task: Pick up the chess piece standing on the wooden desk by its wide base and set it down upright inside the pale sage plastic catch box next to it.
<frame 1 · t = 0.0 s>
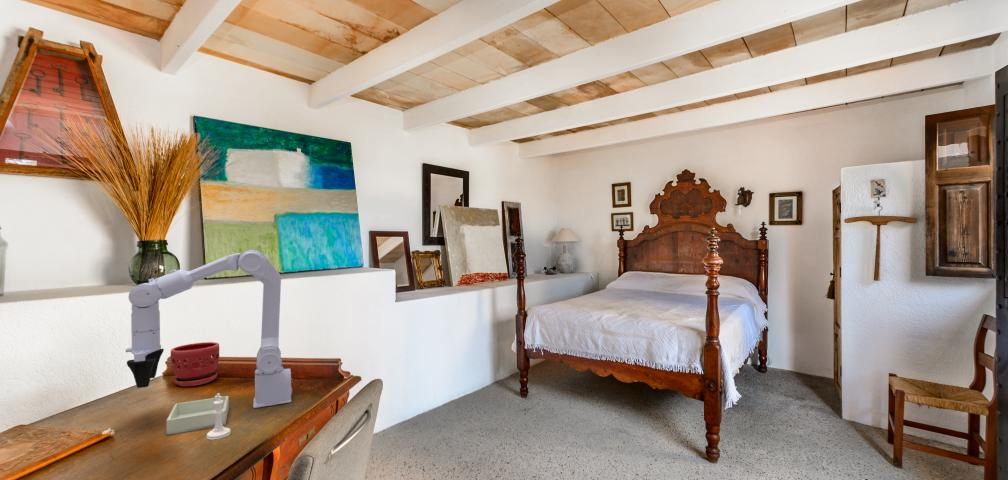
hand: (146, 382, 114), 10 cm above the table, tool pointing down, fingers open, 7 cm apart
plant pot: (195, 382, 145), on the table
catch box: (199, 421, 115), on the table
chess piece: (218, 435, 107), on the table
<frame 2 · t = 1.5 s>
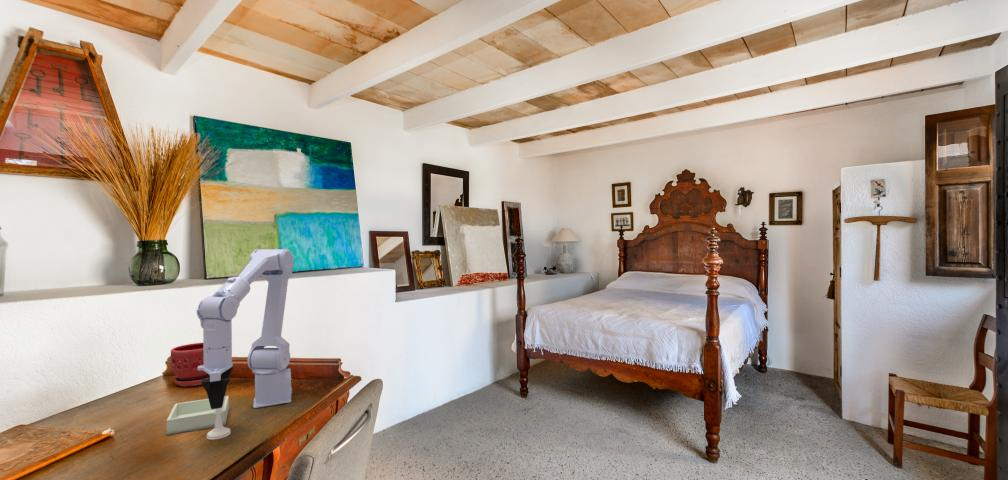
hand: (218, 402, 107), 8 cm above the table, tool pointing down, fingers open, 7 cm apart
nothing on the table moved.
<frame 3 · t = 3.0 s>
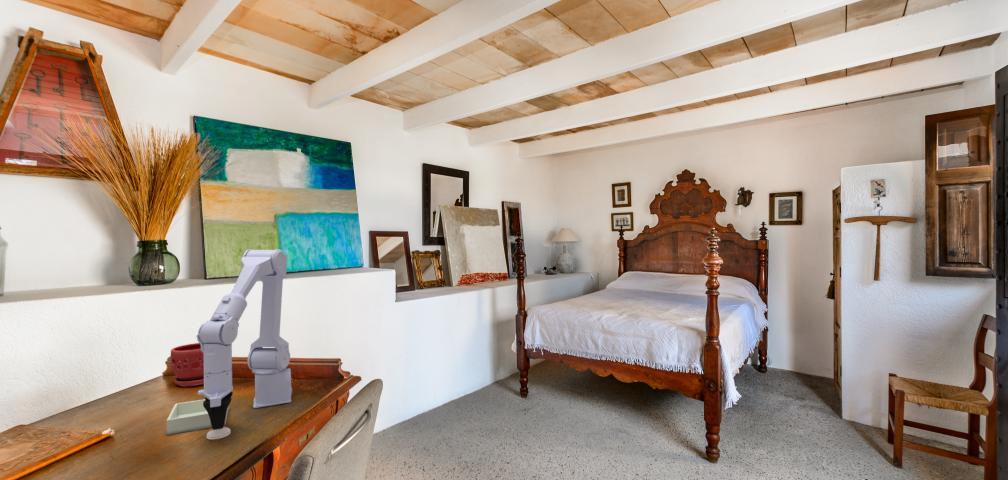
hand: (218, 426, 107), 2 cm above the table, tool pointing down, fingers closed on chess piece
chess piece: (218, 435, 107), on the table, touching gripper
everything else where it was.
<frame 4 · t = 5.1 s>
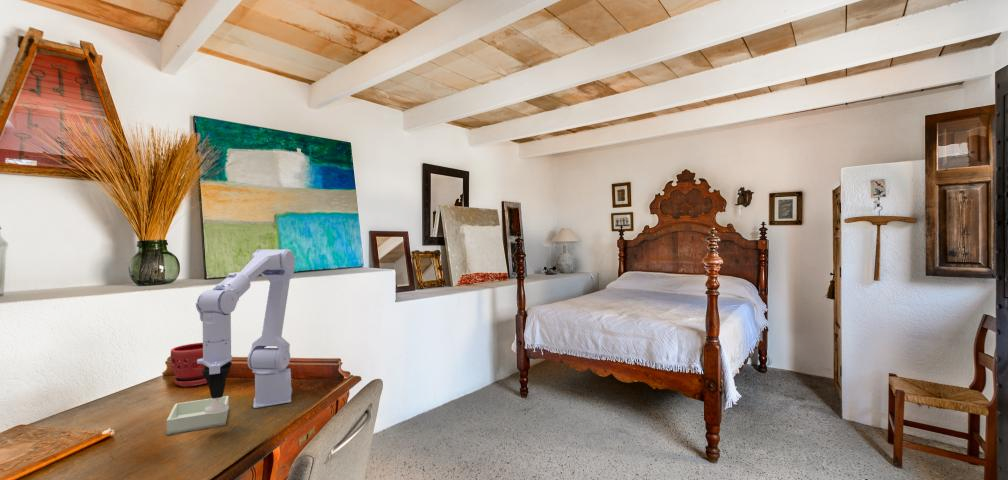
hand: (217, 395, 107), 9 cm above the table, tool pointing down, fingers closed on chess piece, 2 cm apart
chess piece: (216, 411, 107), point 6 cm above the table, touching gripper
everything else where it was.
when the fingers open (4 cm above the table, at t = 7.8 s): chess piece stays where it is, resting on catch box.
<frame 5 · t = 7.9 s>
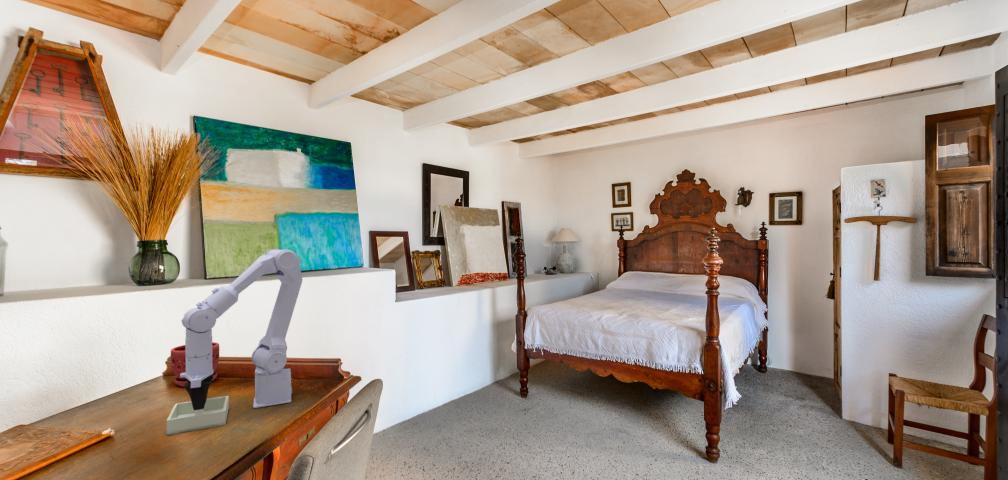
hand: (199, 407, 115), 4 cm above the table, tool pointing down
chess piece: (199, 419, 114), resting on catch box
everything else where it was.
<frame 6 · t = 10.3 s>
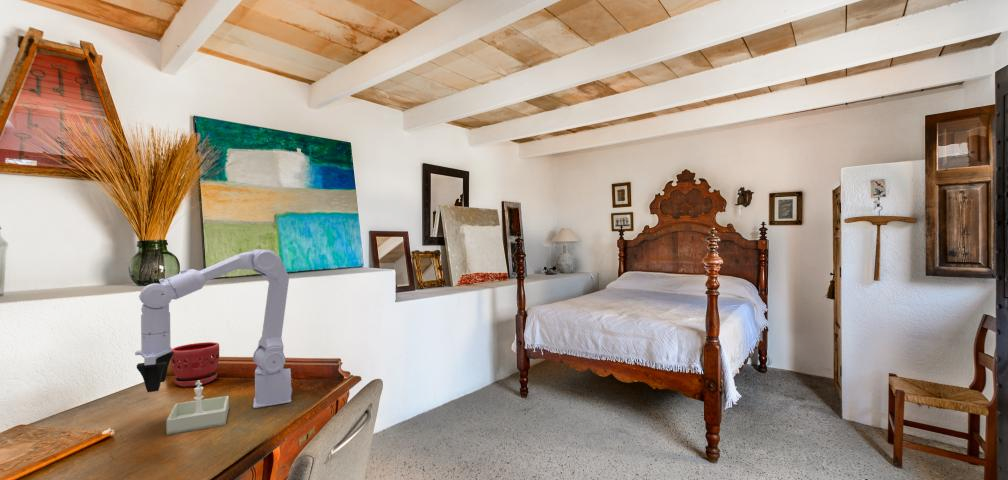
hand: (156, 386, 110), 10 cm above the table, tool pointing down, fingers open, 7 cm apart
nothing on the table moved.
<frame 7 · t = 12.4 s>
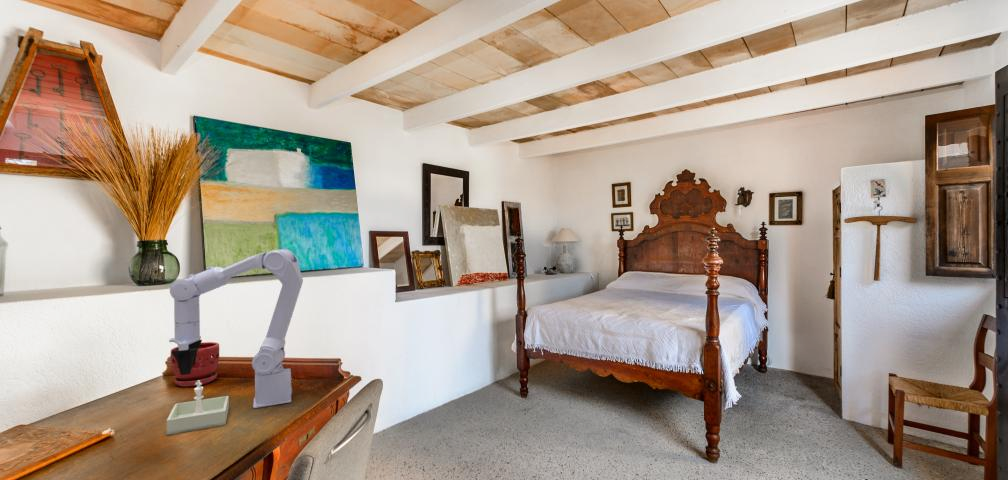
hand: (187, 370, 123), 10 cm above the table, tool pointing down, fingers open, 7 cm apart
nothing on the table moved.
at the end: chess piece 0.3 cm off-centre on the catch box, point 0.4 cm above the catch box's base; chess piece tilted 0°; the gripper is holding nothing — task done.
